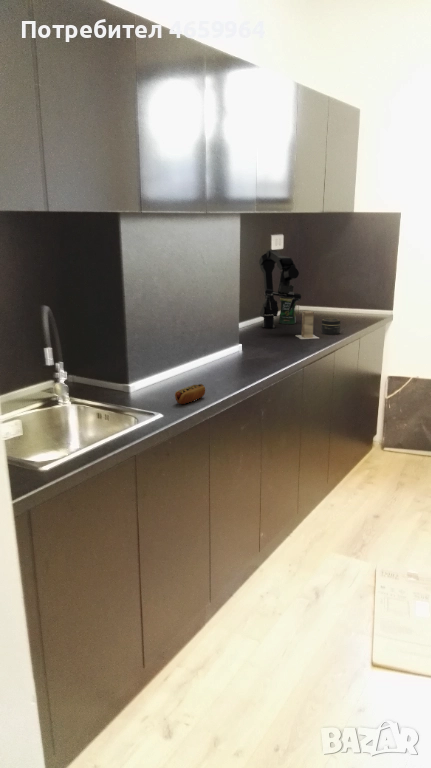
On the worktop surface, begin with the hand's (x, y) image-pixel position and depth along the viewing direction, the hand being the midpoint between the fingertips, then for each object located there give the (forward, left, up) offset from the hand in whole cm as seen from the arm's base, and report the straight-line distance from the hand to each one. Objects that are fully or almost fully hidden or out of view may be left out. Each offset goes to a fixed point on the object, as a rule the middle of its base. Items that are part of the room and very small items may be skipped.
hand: (280, 311), depth 300 cm
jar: (-14, +26, -14) cm, 32 cm away
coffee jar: (-41, -1, -14) cm, 43 cm away
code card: (-2, +14, -14) cm, 20 cm away
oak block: (-2, +14, -13) cm, 19 cm away
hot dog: (+116, -15, -14) cm, 118 cm away
